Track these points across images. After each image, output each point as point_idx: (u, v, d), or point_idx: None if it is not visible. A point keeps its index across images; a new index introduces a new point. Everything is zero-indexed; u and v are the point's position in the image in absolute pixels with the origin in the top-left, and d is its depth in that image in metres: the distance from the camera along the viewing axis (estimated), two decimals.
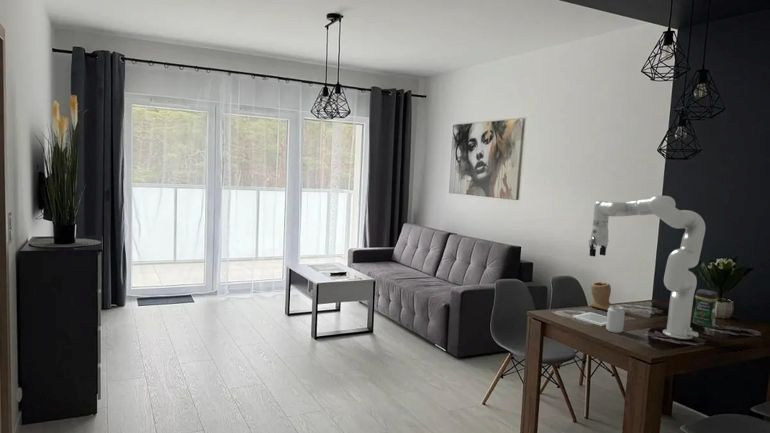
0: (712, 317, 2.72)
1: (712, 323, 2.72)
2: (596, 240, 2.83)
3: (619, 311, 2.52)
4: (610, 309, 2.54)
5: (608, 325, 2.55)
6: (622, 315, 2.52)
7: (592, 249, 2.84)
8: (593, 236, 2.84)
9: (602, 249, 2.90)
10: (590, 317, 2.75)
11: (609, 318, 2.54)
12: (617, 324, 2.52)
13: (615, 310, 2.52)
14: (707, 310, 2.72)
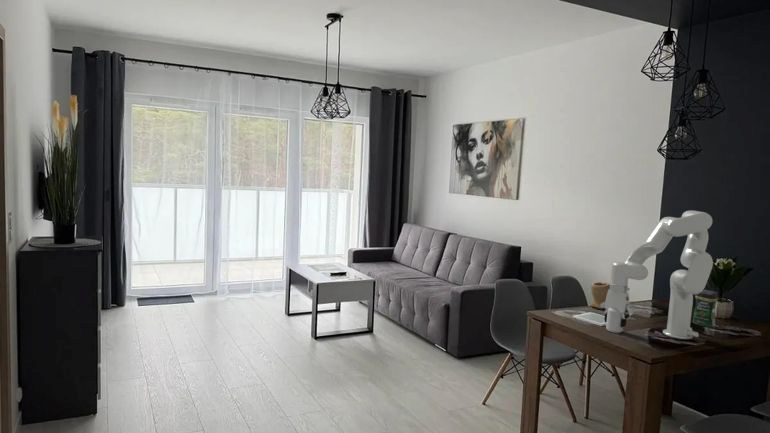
0: (712, 317, 2.72)
1: (712, 323, 2.72)
2: None
3: None
4: (610, 309, 2.54)
5: (608, 325, 2.55)
6: None
7: (626, 319, 2.52)
8: (626, 304, 2.51)
9: None
10: (590, 317, 2.75)
11: (609, 318, 2.54)
12: (617, 324, 2.52)
13: (615, 310, 2.52)
14: (707, 310, 2.72)
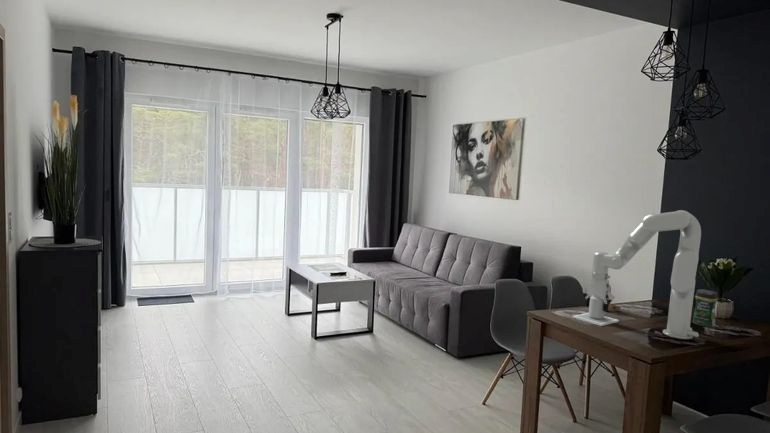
0: (712, 317, 2.72)
1: (712, 323, 2.72)
2: None
3: (600, 299, 2.70)
4: (592, 297, 2.73)
5: (590, 312, 2.73)
6: (603, 303, 2.71)
7: (608, 304, 2.69)
8: (607, 290, 2.69)
9: (589, 300, 2.77)
10: (590, 317, 2.75)
11: (591, 305, 2.73)
12: (598, 311, 2.71)
13: (596, 298, 2.71)
14: (707, 310, 2.72)
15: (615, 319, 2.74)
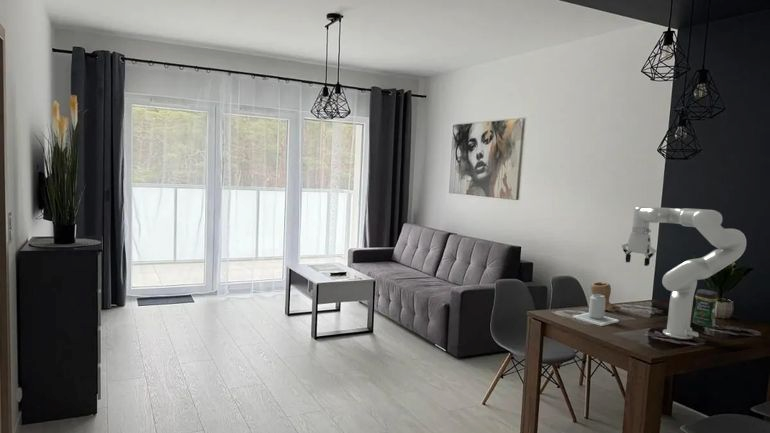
0: (712, 317, 2.72)
1: (712, 323, 2.72)
2: None
3: (600, 299, 2.70)
4: (592, 297, 2.73)
5: (590, 312, 2.73)
6: (603, 303, 2.71)
7: (649, 258, 2.68)
8: (648, 244, 2.67)
9: (629, 256, 2.76)
10: (590, 317, 2.75)
11: (591, 305, 2.73)
12: (598, 311, 2.71)
13: (596, 298, 2.71)
14: (707, 310, 2.72)
15: (615, 319, 2.74)
